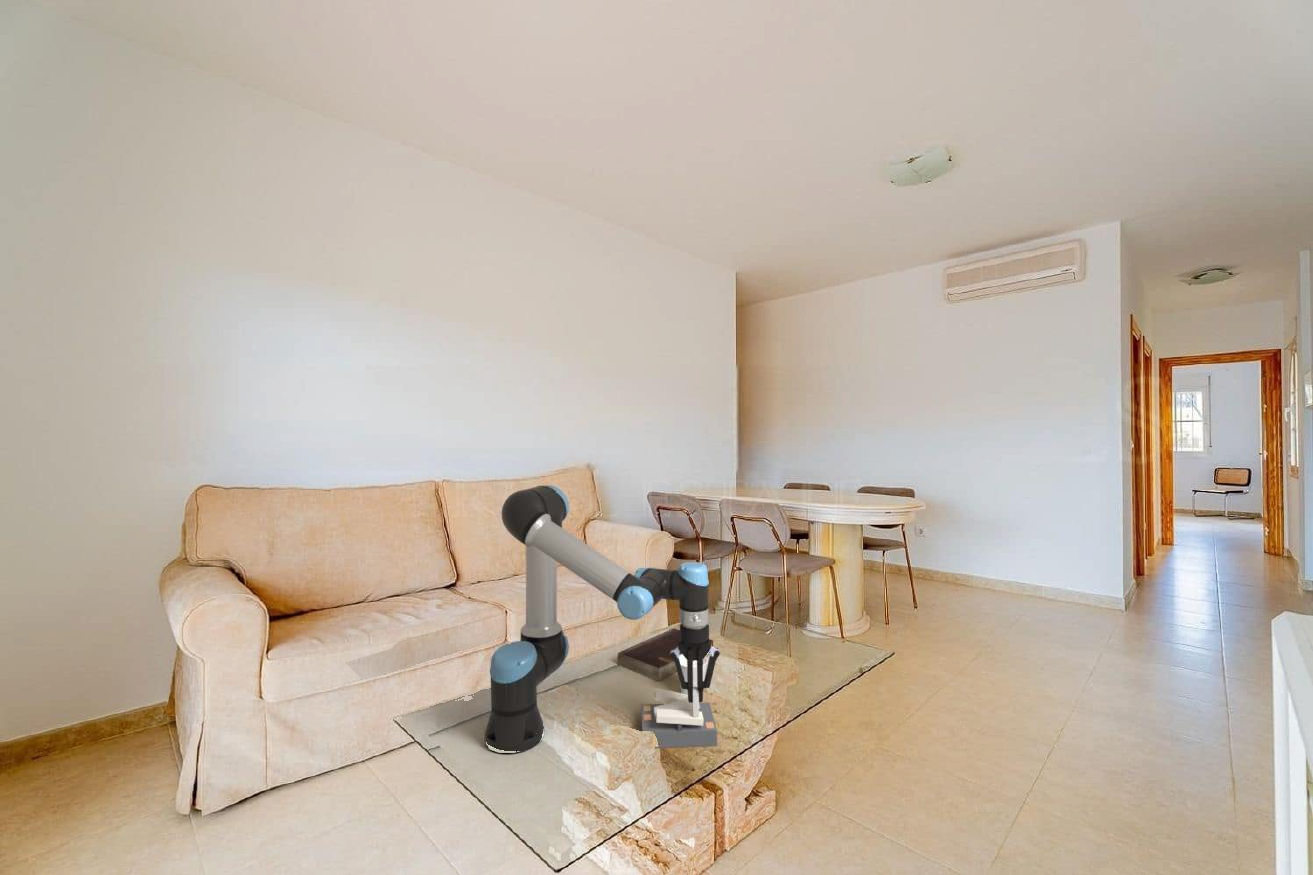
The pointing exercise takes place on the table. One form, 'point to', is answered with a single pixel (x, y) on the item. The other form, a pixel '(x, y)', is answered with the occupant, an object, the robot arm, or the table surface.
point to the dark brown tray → (653, 656)
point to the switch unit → (681, 729)
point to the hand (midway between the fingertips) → (695, 713)
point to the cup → (684, 669)
